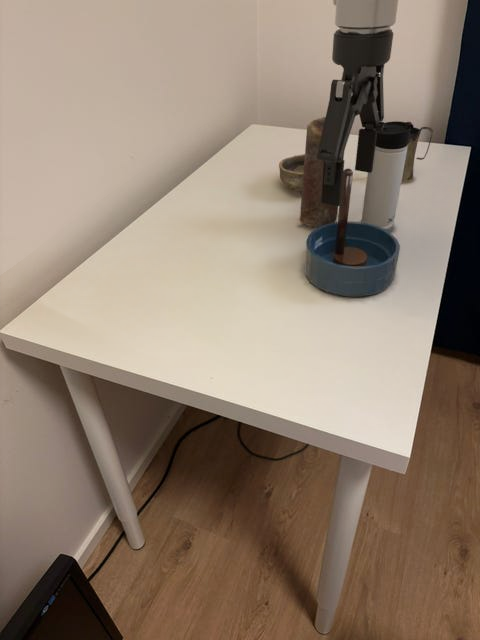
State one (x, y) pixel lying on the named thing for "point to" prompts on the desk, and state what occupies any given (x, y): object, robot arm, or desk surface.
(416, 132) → the mug
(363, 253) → the ladle
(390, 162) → the travel mug
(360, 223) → the mixing bowl
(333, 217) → the brown cylinder
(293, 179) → the bowl
